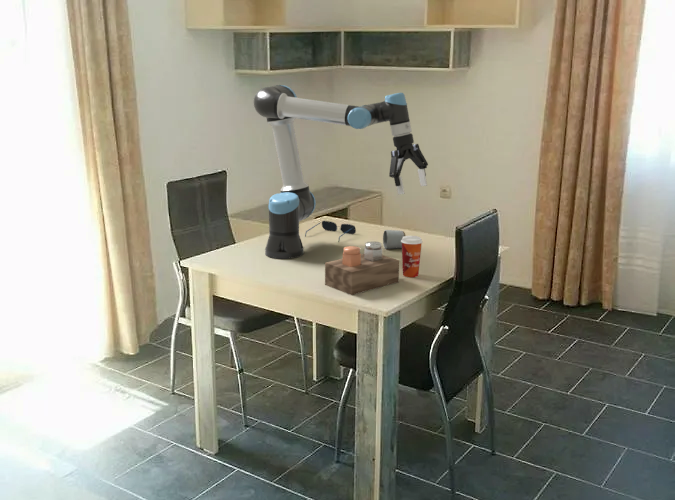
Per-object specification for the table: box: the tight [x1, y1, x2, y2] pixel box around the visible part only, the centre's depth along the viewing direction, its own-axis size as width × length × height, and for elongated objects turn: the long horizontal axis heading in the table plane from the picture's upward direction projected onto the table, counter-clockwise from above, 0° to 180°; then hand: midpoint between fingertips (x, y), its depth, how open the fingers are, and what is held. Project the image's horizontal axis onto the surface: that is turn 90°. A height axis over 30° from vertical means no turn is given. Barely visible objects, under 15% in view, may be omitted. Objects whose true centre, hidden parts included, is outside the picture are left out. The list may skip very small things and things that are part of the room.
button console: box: [324, 253, 400, 296], centre depth 268 cm, size 14×22×8 cm, turn 130°
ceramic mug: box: [382, 229, 407, 250], centre depth 314 cm, size 11×8×8 cm
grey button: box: [363, 241, 383, 262], centre depth 270 cm, size 6×6×8 cm
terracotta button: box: [342, 245, 362, 267], centre depth 264 cm, size 6×6×8 cm
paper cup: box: [401, 235, 423, 279], centre depth 277 cm, size 8×8×14 cm
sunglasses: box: [304, 220, 357, 243], centre depth 331 cm, size 17×15×5 cm
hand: (412, 189), depth 294 cm, fingers open, 13 cm apart
